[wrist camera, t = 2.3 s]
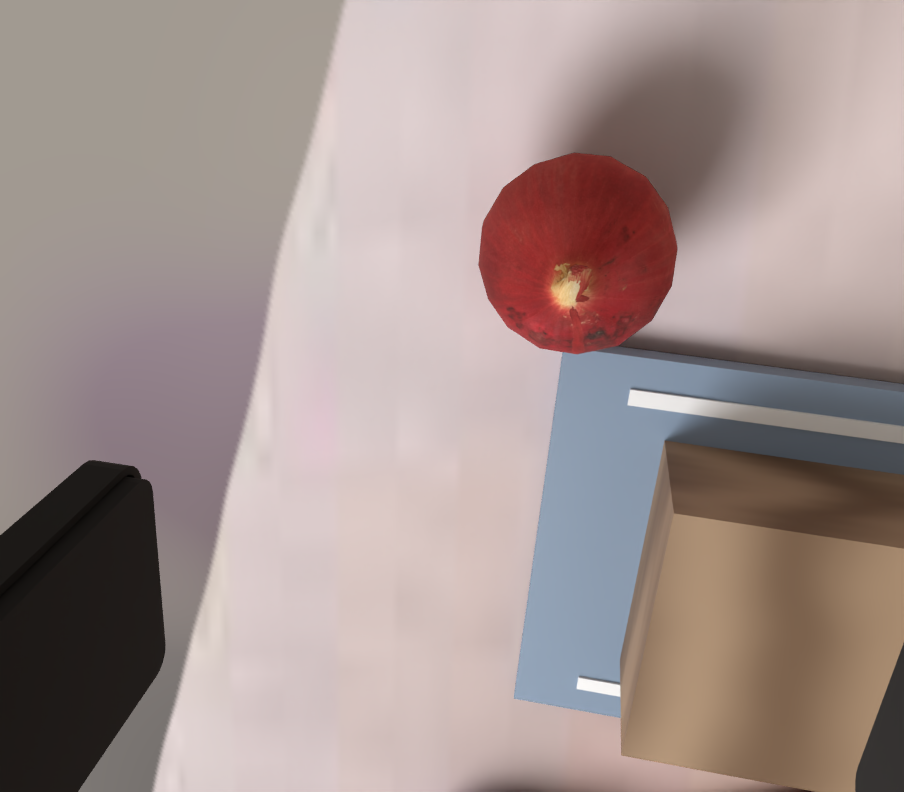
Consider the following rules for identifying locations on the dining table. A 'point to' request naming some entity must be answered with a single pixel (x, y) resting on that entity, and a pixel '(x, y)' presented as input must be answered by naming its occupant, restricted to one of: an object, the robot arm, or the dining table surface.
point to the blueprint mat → (634, 478)
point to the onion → (578, 253)
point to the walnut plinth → (763, 617)
